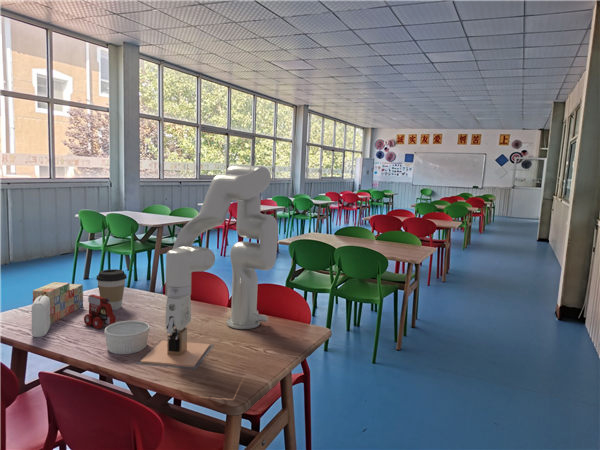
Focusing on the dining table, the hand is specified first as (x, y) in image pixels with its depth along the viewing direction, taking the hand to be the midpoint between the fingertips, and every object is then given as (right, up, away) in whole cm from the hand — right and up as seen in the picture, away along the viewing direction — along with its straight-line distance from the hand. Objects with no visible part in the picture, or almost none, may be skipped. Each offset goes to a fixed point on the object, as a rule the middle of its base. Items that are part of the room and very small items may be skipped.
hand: (177, 347), depth 132 cm
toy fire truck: (-34, +1, +23) cm, 41 cm away
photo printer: (-50, +1, +13) cm, 52 cm away
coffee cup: (-39, +4, +42) cm, 57 cm away
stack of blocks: (-54, +3, +32) cm, 63 cm away
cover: (0, -2, 0) cm, 2 cm away
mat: (0, -3, 0) cm, 3 cm away
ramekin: (-17, -2, +4) cm, 17 cm away
